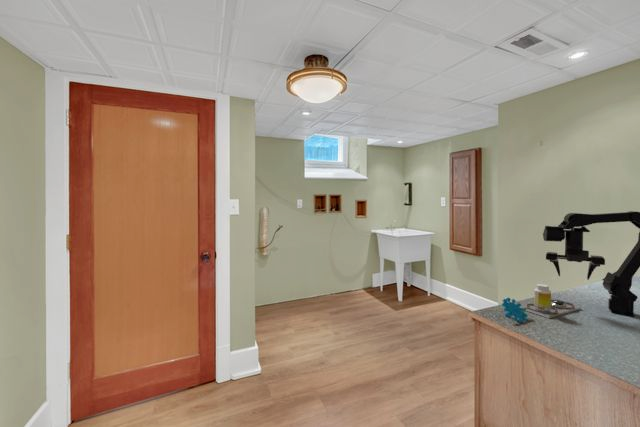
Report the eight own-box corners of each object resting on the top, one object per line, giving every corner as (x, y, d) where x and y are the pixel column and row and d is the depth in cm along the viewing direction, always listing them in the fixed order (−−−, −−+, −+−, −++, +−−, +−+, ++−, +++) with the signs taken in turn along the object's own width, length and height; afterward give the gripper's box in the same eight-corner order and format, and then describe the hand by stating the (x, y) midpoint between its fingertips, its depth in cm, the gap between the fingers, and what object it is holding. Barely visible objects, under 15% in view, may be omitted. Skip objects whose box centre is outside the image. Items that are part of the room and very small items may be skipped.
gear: (513, 320, 106) (499, 296, 113) (502, 327, 110) (489, 303, 117) (536, 321, 109) (521, 297, 116) (524, 327, 113) (511, 304, 120)
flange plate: (550, 300, 130) (550, 295, 130) (581, 309, 120) (581, 303, 120) (519, 308, 122) (519, 303, 122) (550, 318, 111) (550, 312, 111)
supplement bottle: (554, 311, 116) (554, 286, 116) (542, 312, 115) (542, 287, 115) (542, 306, 121) (542, 282, 121) (530, 307, 121) (531, 283, 120)
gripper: (545, 242, 121) (545, 278, 122) (607, 246, 109) (606, 286, 110) (546, 239, 130) (546, 273, 130) (603, 242, 118) (602, 279, 118)
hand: (573, 277), depth 122 cm, fingers open, 9 cm apart
